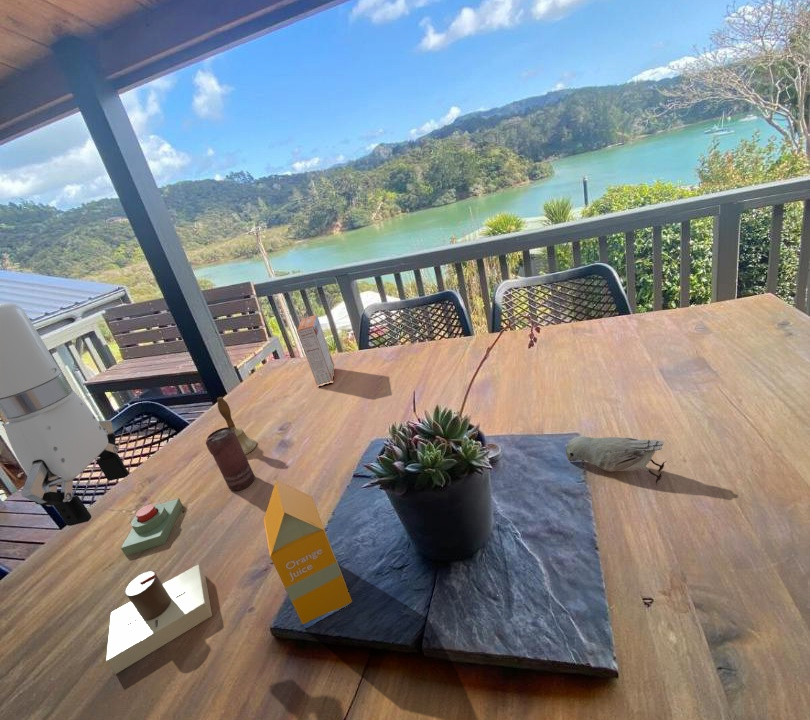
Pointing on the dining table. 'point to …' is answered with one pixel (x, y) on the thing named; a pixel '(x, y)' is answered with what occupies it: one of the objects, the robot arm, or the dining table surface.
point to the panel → (158, 620)
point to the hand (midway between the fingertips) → (101, 498)
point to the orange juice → (303, 553)
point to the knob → (148, 595)
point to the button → (146, 513)
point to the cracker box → (316, 349)
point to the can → (230, 458)
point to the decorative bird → (615, 453)
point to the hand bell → (244, 441)
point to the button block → (152, 528)
